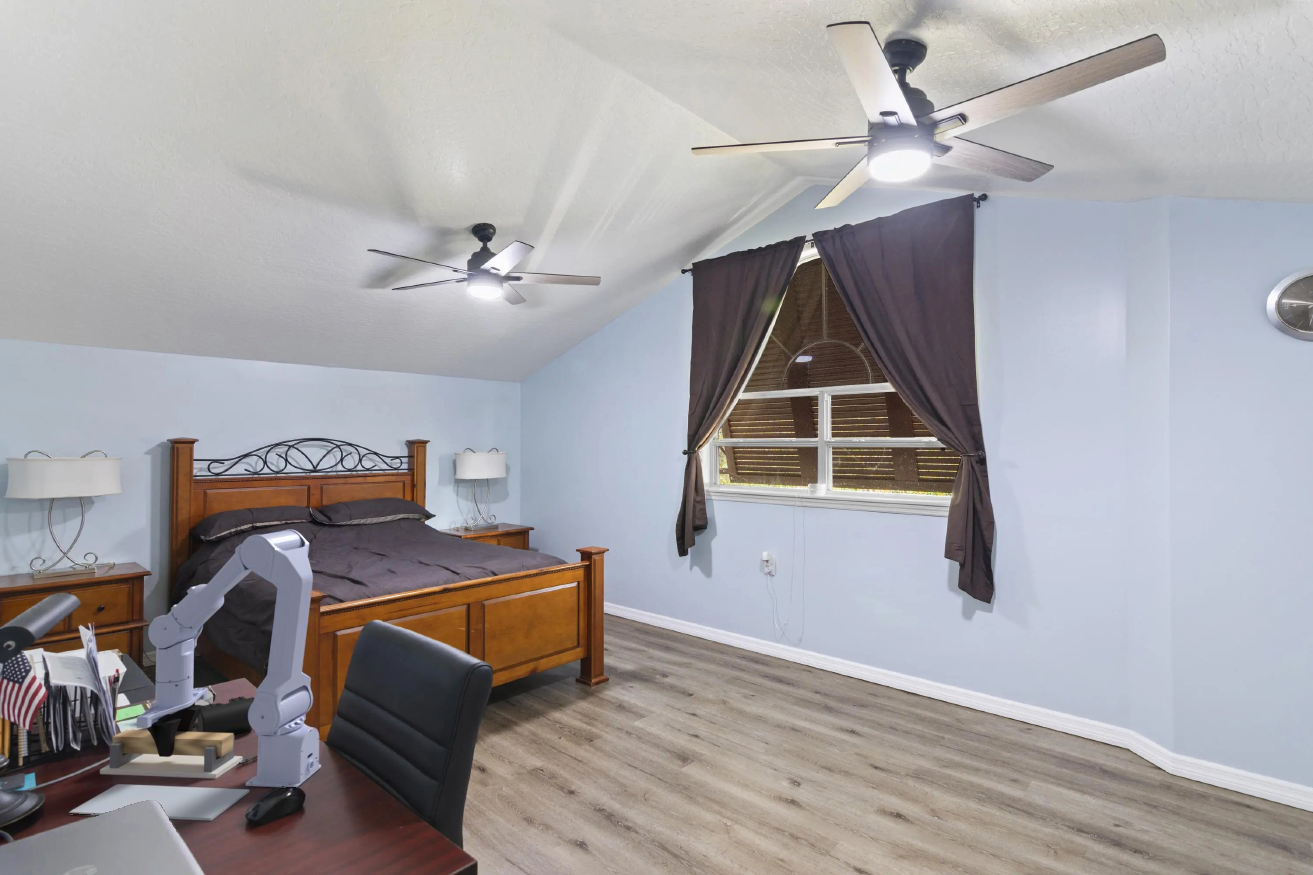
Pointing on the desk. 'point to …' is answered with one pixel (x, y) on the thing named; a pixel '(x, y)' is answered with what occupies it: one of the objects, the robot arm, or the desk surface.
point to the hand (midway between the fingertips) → (173, 751)
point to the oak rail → (183, 742)
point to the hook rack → (170, 764)
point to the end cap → (225, 717)
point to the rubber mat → (166, 800)
